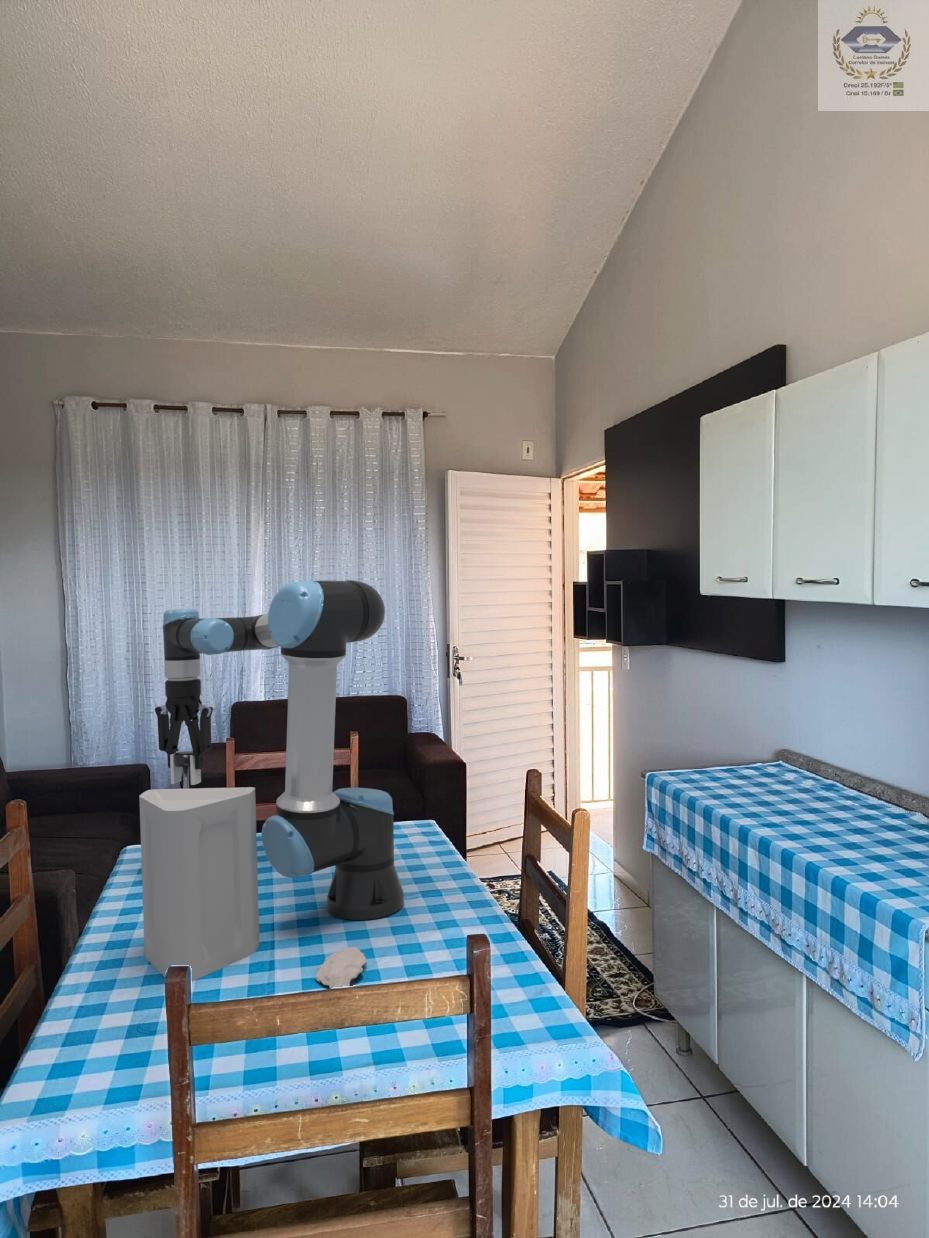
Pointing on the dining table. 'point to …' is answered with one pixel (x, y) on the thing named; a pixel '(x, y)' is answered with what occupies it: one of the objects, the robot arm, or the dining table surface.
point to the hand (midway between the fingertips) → (186, 782)
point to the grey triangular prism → (199, 877)
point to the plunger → (184, 765)
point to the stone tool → (341, 967)
